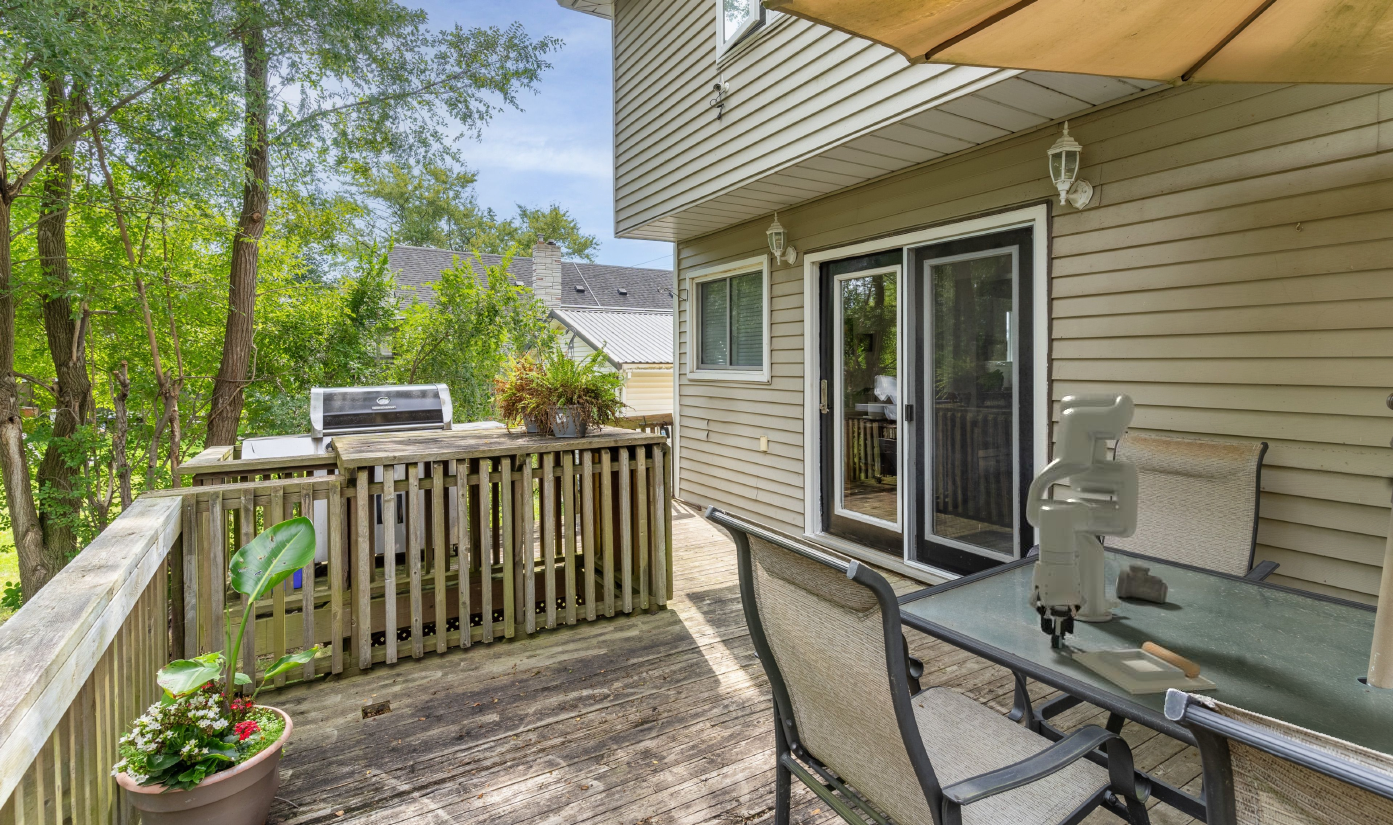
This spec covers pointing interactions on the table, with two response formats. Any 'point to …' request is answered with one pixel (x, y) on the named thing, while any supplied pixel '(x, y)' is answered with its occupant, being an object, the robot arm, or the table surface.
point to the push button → (1059, 624)
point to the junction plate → (1146, 669)
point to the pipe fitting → (1140, 584)
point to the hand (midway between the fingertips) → (1057, 631)
